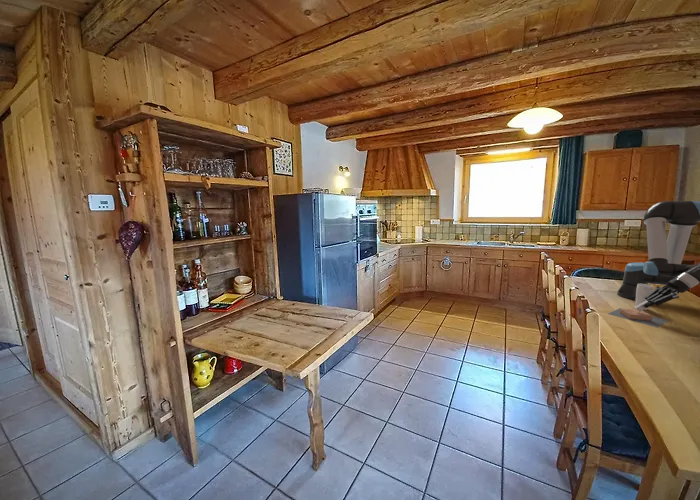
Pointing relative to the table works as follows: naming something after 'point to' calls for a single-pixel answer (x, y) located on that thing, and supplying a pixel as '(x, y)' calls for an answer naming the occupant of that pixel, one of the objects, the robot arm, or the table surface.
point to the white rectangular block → (642, 293)
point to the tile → (636, 314)
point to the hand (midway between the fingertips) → (637, 309)
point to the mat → (655, 321)
